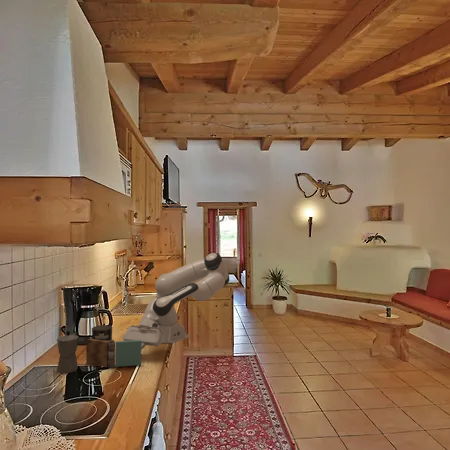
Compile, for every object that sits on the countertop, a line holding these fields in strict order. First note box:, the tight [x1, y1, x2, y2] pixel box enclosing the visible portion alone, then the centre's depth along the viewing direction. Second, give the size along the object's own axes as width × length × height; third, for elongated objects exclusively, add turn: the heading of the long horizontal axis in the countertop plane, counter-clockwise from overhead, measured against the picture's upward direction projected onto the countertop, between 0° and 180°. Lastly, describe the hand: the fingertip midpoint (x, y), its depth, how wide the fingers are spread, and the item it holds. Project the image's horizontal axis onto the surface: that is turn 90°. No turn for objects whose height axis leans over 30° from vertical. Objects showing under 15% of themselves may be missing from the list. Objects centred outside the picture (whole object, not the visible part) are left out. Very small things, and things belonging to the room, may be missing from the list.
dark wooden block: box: [85, 338, 116, 369], centre depth 175 cm, size 15×3×13 cm, turn 73°
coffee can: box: [91, 324, 113, 341], centre depth 190 cm, size 10×10×14 cm
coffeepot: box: [56, 330, 80, 375], centre depth 170 cm, size 15×9×18 cm, turn 171°
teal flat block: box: [108, 340, 142, 368], centre depth 174 cm, size 15×3×12 cm, turn 103°
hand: (137, 351), depth 179 cm, fingers closed
